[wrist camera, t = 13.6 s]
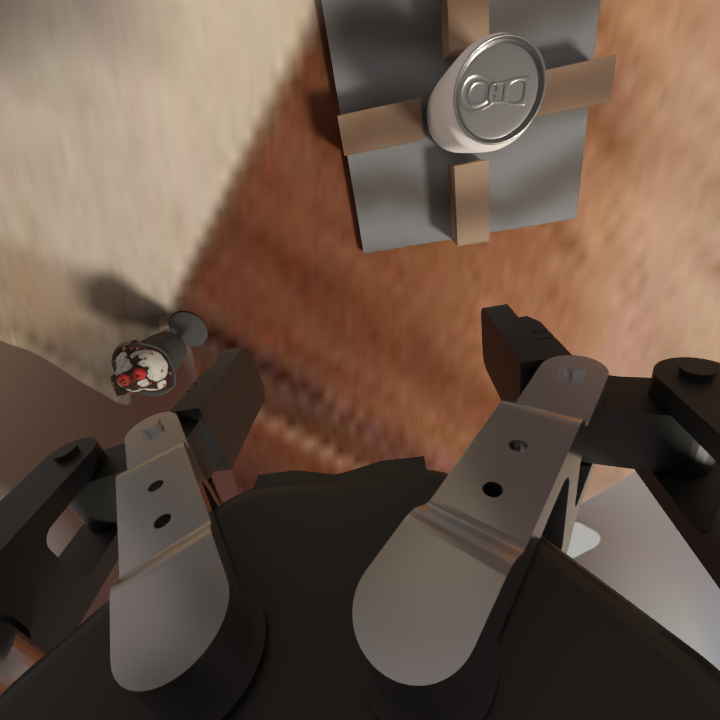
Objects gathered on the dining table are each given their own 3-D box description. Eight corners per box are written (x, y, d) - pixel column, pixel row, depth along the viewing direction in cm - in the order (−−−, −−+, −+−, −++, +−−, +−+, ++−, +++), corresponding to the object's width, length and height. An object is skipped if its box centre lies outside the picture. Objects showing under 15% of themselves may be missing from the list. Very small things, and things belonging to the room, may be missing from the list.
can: (427, 69, 31) (451, 26, 21) (503, 65, 31) (565, 19, 21) (424, 154, 35) (442, 154, 24) (492, 151, 34) (541, 150, 24)
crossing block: (319, -16, 30) (310, -41, 26) (603, -92, 27) (641, -134, 23) (364, 251, 40) (362, 261, 36) (571, 216, 38) (593, 223, 34)
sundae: (210, 306, 45) (140, 369, 32) (217, 353, 48) (156, 427, 35) (158, 302, 45) (66, 362, 32) (168, 349, 48) (89, 421, 35)
